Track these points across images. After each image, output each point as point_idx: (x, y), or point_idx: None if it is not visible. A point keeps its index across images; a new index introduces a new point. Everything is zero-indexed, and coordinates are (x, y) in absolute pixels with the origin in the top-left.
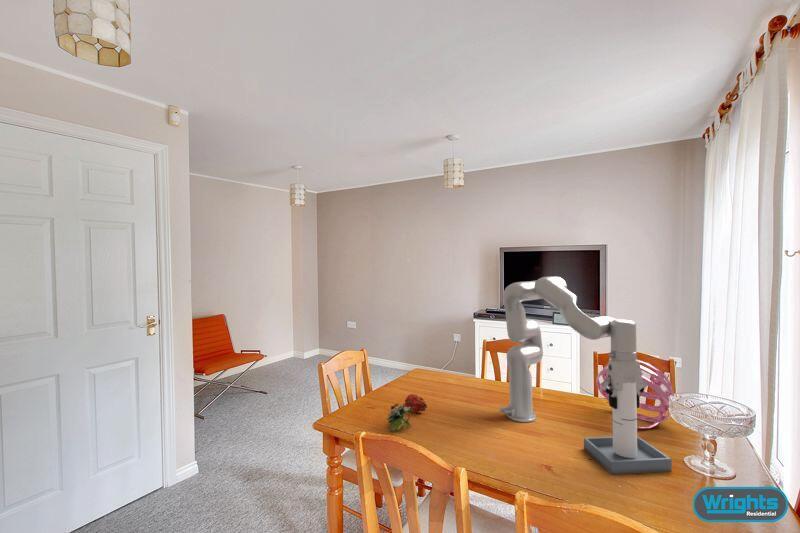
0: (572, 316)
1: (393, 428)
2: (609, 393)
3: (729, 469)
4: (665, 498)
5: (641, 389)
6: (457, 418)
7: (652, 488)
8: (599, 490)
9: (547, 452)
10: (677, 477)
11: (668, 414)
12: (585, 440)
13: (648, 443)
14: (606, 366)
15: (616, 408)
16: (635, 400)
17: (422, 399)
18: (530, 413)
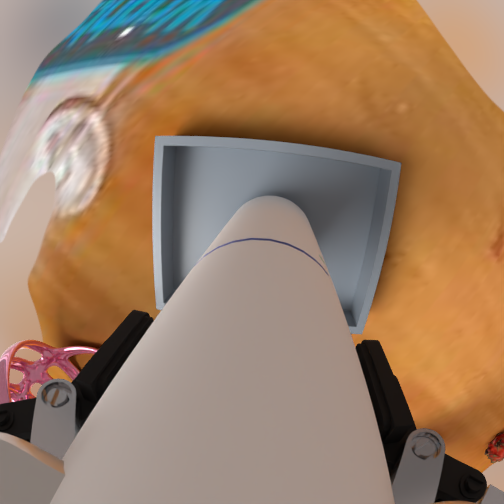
0: None
1: None
2: (452, 465)
3: (40, 142)
4: (313, 27)
5: (11, 426)
6: (472, 431)
7: (314, 68)
8: (460, 113)
9: (456, 309)
10: (184, 104)
11: (30, 342)
12: (363, 322)
13: (153, 251)
14: None
15: (367, 340)
16: (161, 342)
17: (495, 455)
18: None
